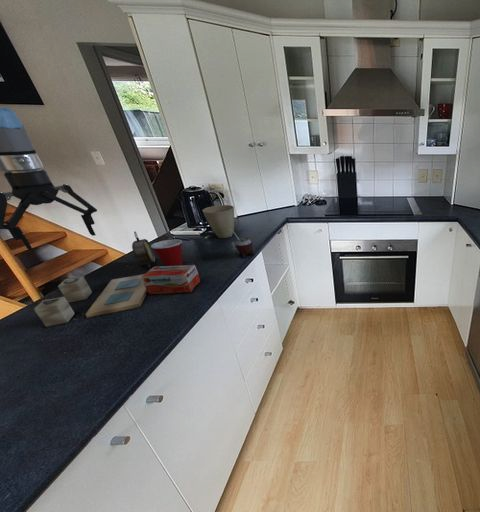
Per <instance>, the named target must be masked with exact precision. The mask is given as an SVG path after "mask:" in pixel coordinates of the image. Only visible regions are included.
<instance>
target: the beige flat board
mask: <svg viewBox="0 0 480 512" xmlns="http://www.w3.org/2000/svg"><path fill="white" fill-rule="evenodd" d="M144 274H145V273H143V274H138V275H131V276H125V277H119V278H112V279H111V280H110V281H109V282H108V283H107V285H106V286H105V287H104V289H103V290H102V291H101V293H100V294H99V296H98V297H97V298H96V300H95V301H93V303H92V305H91V306H90V307H89V309H88V310H87V311H86V312H85V316H86V318H88V319H89V318H93V317H97V316H101V315H106V314H107V315H108V314H112V313H117V312H121V311H126V310H131V309H135V308H136V309H137V308H140V307H141V306H142V304H143V302H144V300H145V298H146V296H147V294H148V291H147V289H146V287H145V285H144V282H143V279H142V277H141V276H143V275H144Z"/></svg>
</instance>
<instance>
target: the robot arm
mask: <svg viewBox="0 0 480 512" xmlns="http://www.w3.org/2000/svg"><path fill="white" fill-rule="evenodd" d="M43 168H44V165H43V163H42V161H41V159H40V157H39V155H38V153H37V151H36V149H35V147H34V145H33V142H32V141H31V139H30V138H29V135H28V133H27V131H26V129H25V126H24V125H23V123H22V122H21V120H20V119H19V116H18V115H17V114H16V113H15V111H14V110H13V109H11V108H8V107H0V170H1V171H2V172H4V174H3V176H4V178H5V179H6V181H7V182H8V184H9V186H10V187H11V191H4V192H3V191H0V230H7V231H8V232H9V233H10V235H11V236H12V238H13V239H14V240H15V241H19V240H20V241H22V243H23V244H24V246H25V248H26V249H27V250H28V251H33V249H34V248H33V246H31V244H30V242H29V240H28V239H27V238H26V235H24V232H23V230H22V229H21V228H20V227H19V226H17V225H18V224H19V222H20V220H21V219H22V217H23V216H24V214H25V213H26V211H27V209H29V207H30V206H31V205H32V206H40V205H43V204H52V203H54V202H56V203H60V204H61V205H64V206H66V207H68V208H70V209H72V210H74V211H77V212H79V213H81V215H80V217H81V220H82V222H83V223H84V225H85V227H86V229H87V231H88V233H89V235H91V236H96V235H97V234H96V233H95V230H94V229H93V226H92V225H95V223H96V222H95V220H94V218H93V216H92V214H94V213H96V212H98V209H97V208H96V207H94V206H93V205H92V204H90V203H89V202H88V201H86V200H85V199H84V197H81V196H80V195H79V194H77V193H76V192H75V191H74V190H73V188H72V187H71V186H70V185H69V184H67V183H63V184H62V185H58V186H55V185H54V184H53V182H52V180H51V178H50V176H49V174H48V172H47V170H45V169H43ZM59 191H61V192H63V193H65V194H68V195H70V197H72V198H73V199H75V200H76V201H77V202H78V203H80V205H82V206H84V207H85V208H87V209H84V208H82V207H80V206H77V205H76V204H74V203H71V202H69V201H67V200H65V199H63V198H61V197H58V196H57V195H58V193H59ZM12 197H14V198H16V199H18V200H20V201H19V202H18V205H17V207H16V208H15V210H14V211H13V213H12V214H11V216H10V218H9V219H8V221H7V222H6V223H5V218H6V213H7V208H8V201H10V200H11V198H12Z"/></svg>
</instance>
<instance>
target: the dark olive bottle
mask: <svg viewBox="0 0 480 512" xmlns="http://www.w3.org/2000/svg"><path fill="white" fill-rule="evenodd" d="M133 233H134V238H135V240H134V241H133V242H132V244H131V249H132V253H133V256H134V258H135V259H136V261H137V263H139V264H140V265H141V266H142V267H143V266H146V265H148V269H149V270H151V269H152V267H151V264H154V263H155V262H156V256H155V251H154V249H153V248H152V247H151V245H152V244H151V243H150V242H149V240H148V239H146V238H143V239H140V238H139V237H138V233H137V232H136V230H135V231H134V232H133Z"/></svg>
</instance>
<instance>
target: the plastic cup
mask: <svg viewBox="0 0 480 512" xmlns="http://www.w3.org/2000/svg"><path fill="white" fill-rule="evenodd" d="M182 243H183V240H182V239H164V240H161V241H157V242H154V243H151V244H150V245H151V247H152V249H153V252H154V253H155V254H156V255H157V256H158V258H159V259H160V261H161V263H162V264H163V266H184V263H183V262H184V261H183V253H182V252H183V251H182Z"/></svg>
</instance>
